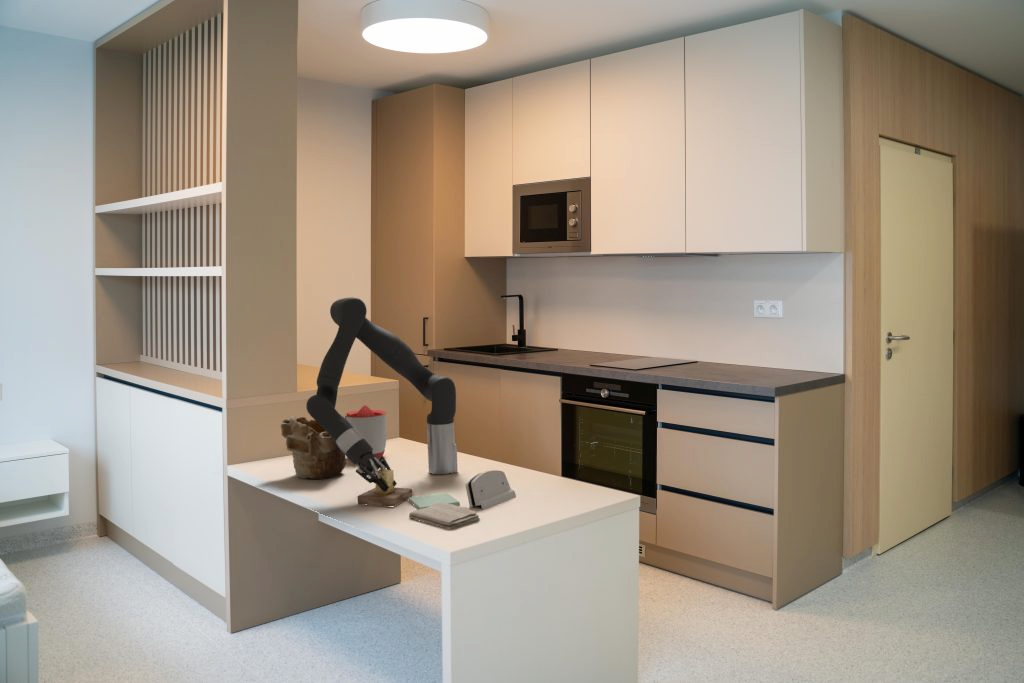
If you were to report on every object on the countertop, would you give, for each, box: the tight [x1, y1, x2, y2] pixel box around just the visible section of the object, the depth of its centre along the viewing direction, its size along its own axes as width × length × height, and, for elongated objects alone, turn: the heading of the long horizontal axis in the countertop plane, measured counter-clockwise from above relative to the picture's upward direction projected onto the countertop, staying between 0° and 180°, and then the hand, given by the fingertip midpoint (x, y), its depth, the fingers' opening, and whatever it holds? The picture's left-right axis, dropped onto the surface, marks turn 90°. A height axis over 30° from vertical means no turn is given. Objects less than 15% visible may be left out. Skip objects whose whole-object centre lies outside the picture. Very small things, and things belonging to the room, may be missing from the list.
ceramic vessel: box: [280, 415, 347, 480], centre depth 283 cm, size 23×24×25 cm
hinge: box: [465, 469, 517, 510], centre depth 245 cm, size 17×5×10 cm, turn 144°
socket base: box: [357, 486, 414, 507], centre depth 249 cm, size 12×12×2 cm
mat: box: [407, 492, 461, 510], centre depth 245 cm, size 12×12×1 cm
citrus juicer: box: [344, 404, 388, 458], centre depth 309 cm, size 16×17×20 cm
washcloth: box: [408, 502, 481, 530], centre depth 228 cm, size 12×18×3 cm, turn 48°
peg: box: [374, 469, 395, 495], centre depth 249 cm, size 4×4×9 cm
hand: (390, 487), depth 248 cm, fingers closed on peg, 4 cm apart
